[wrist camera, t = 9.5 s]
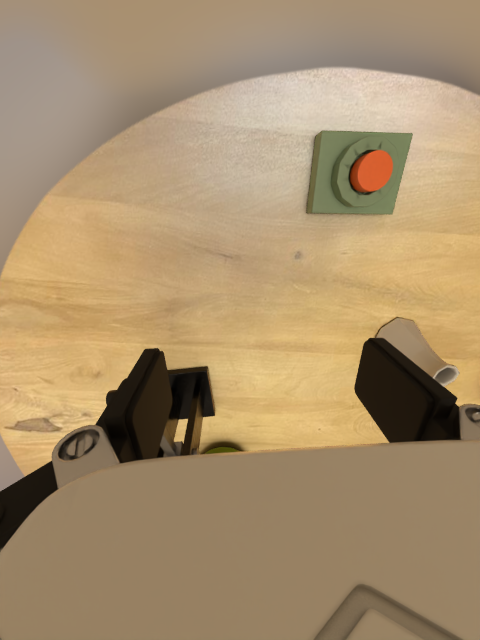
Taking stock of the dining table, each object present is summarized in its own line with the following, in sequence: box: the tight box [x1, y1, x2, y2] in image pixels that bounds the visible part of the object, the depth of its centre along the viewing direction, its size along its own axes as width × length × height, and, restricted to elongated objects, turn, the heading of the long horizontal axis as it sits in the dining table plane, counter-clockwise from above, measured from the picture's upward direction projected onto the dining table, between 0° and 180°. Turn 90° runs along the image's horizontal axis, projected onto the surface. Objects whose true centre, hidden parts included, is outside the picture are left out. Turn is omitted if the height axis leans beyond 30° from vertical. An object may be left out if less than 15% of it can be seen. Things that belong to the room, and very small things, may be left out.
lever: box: [106, 390, 183, 458], centre depth 27 cm, size 16×5×2 cm, turn 5°
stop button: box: [350, 150, 393, 192], centre depth 25 cm, size 4×4×2 cm
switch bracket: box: [156, 367, 215, 458], centre depth 35 cm, size 10×8×14 cm
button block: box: [306, 131, 413, 214], centre depth 27 cm, size 10×8×4 cm
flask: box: [376, 318, 459, 386], centre depth 34 cm, size 7×7×10 cm
